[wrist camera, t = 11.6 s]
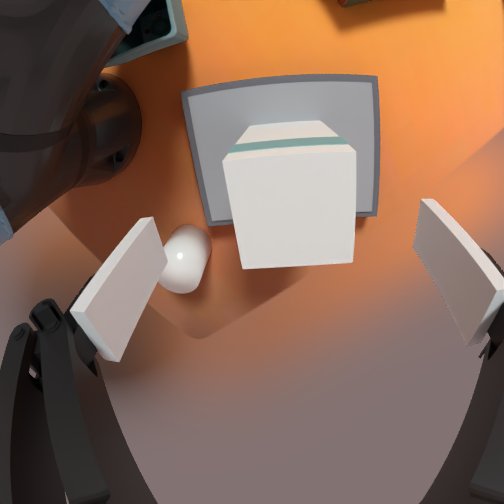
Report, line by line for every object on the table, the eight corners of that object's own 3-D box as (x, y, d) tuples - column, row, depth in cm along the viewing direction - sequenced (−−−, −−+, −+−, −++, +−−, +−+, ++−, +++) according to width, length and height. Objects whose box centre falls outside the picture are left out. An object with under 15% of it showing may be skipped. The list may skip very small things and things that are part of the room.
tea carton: (258, 190, 29) (241, 269, 18) (248, 125, 26) (220, 160, 14) (324, 185, 28) (353, 262, 17) (320, 119, 24) (357, 150, 13)
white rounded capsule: (177, 261, 40) (161, 293, 34) (166, 226, 37) (146, 255, 31) (216, 260, 39) (205, 293, 33) (207, 222, 36) (192, 252, 30)
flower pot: (205, 47, 24) (177, 35, 16) (135, 70, 25) (91, 71, 18) (192, -13, 19) (163, -40, 12) (124, 13, 21) (81, 1, 13)
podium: (213, 216, 35) (207, 228, 33) (189, 90, 27) (179, 91, 24) (370, 206, 32) (377, 218, 30) (368, 76, 24) (378, 75, 21)
